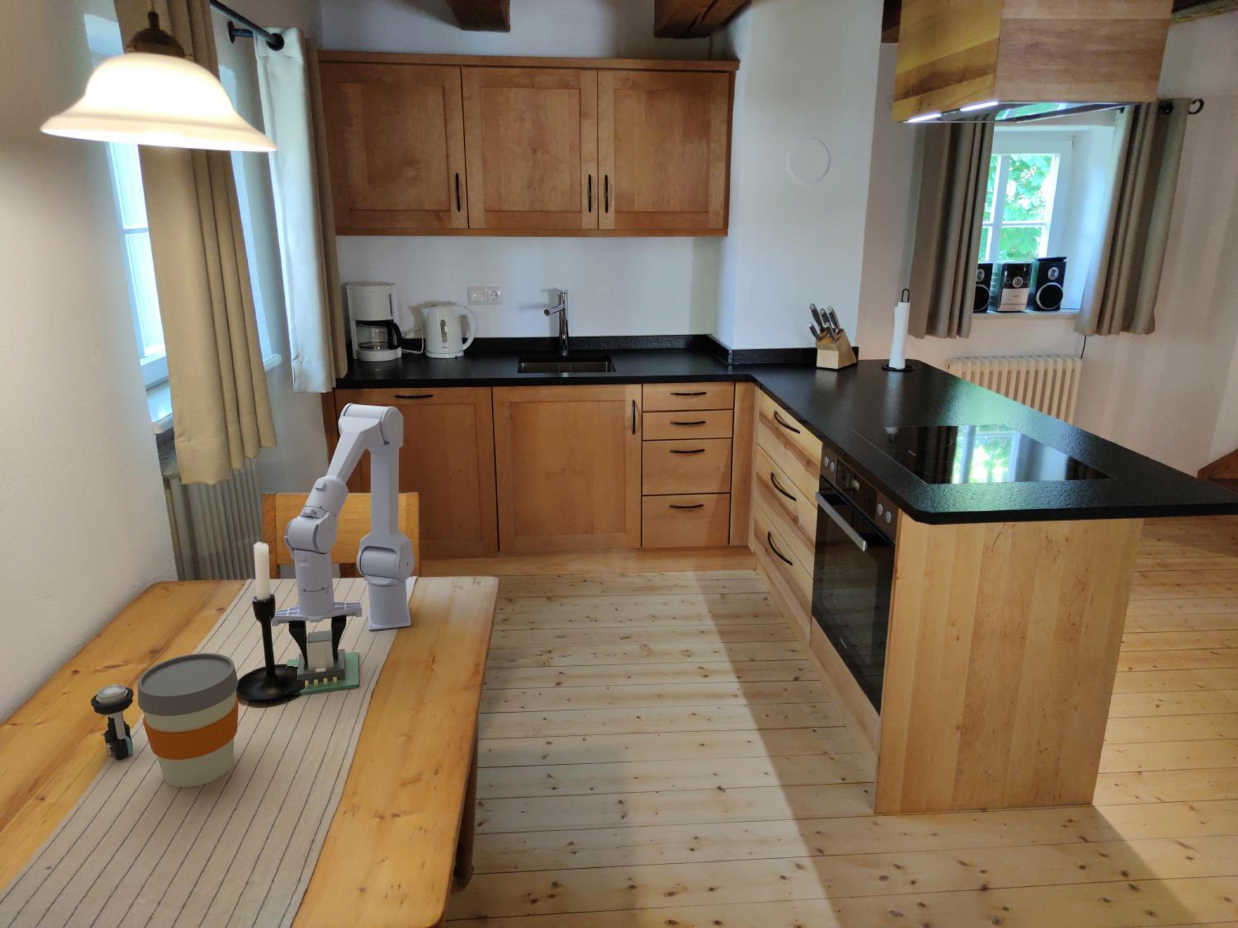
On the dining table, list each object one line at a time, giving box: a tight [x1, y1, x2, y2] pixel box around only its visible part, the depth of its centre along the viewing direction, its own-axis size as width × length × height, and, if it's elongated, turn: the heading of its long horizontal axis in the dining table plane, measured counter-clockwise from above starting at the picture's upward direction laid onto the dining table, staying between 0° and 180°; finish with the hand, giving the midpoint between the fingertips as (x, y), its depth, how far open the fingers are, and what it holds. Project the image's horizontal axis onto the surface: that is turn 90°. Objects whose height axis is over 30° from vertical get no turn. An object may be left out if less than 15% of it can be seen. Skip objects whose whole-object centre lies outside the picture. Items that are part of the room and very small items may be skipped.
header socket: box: [286, 648, 360, 696], centre depth 146 cm, size 12×12×3 cm
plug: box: [306, 629, 334, 671], centre depth 144 cm, size 4×4×6 cm
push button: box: [90, 683, 135, 761], centre depth 123 cm, size 7×5×10 cm
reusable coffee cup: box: [137, 652, 240, 788], centre depth 118 cm, size 13×13×15 cm
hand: (321, 657), depth 145 cm, fingers closed on plug, 4 cm apart
